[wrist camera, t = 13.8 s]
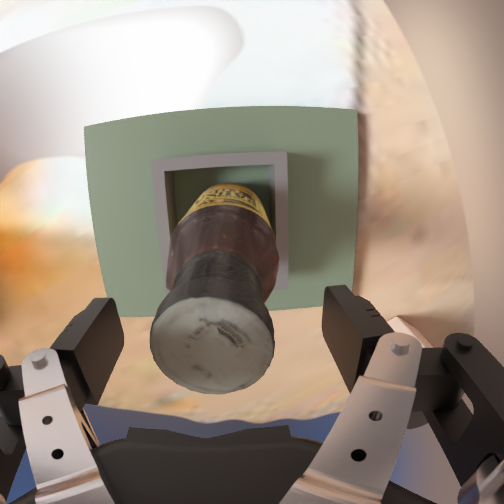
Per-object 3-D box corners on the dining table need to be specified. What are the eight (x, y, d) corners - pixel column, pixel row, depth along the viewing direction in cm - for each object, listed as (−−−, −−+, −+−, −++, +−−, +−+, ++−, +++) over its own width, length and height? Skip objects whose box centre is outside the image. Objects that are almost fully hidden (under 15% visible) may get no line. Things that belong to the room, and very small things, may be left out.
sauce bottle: (252, 172, 27) (310, 221, 8) (269, 236, 29) (340, 387, 10) (182, 193, 27) (88, 285, 8) (203, 255, 29) (170, 425, 10)
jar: (402, 366, 38) (441, 422, 26) (353, 373, 37) (386, 438, 26) (420, 313, 35) (472, 364, 24) (368, 317, 34) (415, 379, 23)
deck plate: (351, 111, 27) (375, 104, 22) (346, 296, 33) (364, 321, 28) (90, 127, 25) (64, 124, 20) (116, 310, 32) (99, 336, 26)
